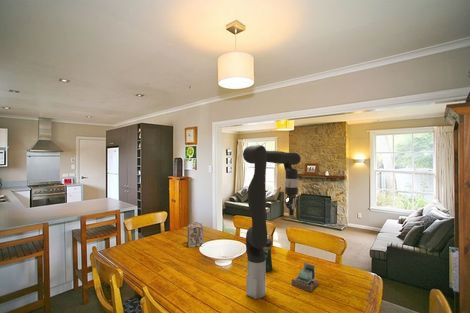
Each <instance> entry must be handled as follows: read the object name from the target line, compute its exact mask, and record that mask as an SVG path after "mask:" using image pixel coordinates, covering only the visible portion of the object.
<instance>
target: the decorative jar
mask: <svg viewBox="0 0 470 313" xmlns="http://www.w3.org/2000/svg"><path fill="white" fill-rule="evenodd" d="M204 230H205V229H204V224H202V223H200V222H199V221H192V222H191V223H189V224H188V225H187V236H186V237H187V246H188V248H189V247H192V248H196V247H195V246H200V245H202V244H203V243H204V242H205V238H204V237H205V233H204V232H205V231H204Z"/></svg>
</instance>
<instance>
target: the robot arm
mask: <svg viewBox="0 0 470 313" xmlns="http://www.w3.org/2000/svg"><path fill="white" fill-rule="evenodd" d="M242 157H243V159H244V161H245V163H248V164H253V165H254V171H253V176H252V178H251V180H250V183H249V185H248V188H247V205H248V211H249V213H250V217H251V226H250V227H249V228H248V229H247V231H246V234H245V252H246V256H247V270H246V271H247V275H246V278H245V280H246V281H245V282H246V291H245V292H246V293H245V294H246V296H249V297H251V298H252V299H253V300H254V299H255V300H258V299H262V298H264V297H265V296H266V294H267V292H266V289H267V288H266V287H267V286H266V280H267V279H266V275H267V274H266V273H267V271H266V255H265V252H264V249H263V248H264V247H265V246H266V244H267V241H268V239H269V238H268V237H269V236H268V235H269V234H268V228H267V190H266V187H267V185H266V175H267V173H266V171H267V163H271V164H279V165H280V164H281V165H283V167H284V171H285V182H284V194H285V195H286V200H284V204H285V206H286V209H288V213H289V214H288V215H289V216H291V217H292V216H294V215H295V213H294V212H295V208H297V205H298V202H299V198H297V195H299V180H298V169H296V168H294V167H293V166H296V165H299V163H300V162H301V160H302V158H301V155H300V154H299V153H298V152H286V151H282V150H281V151H280V150H266V147H265V146H264V145H262V144H261V145H250V146H246V147H245V148H244V149H243V152H242ZM292 165H293V166H292Z"/></svg>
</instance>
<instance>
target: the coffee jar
mask: <svg viewBox="0 0 470 313" xmlns="http://www.w3.org/2000/svg"><path fill="white" fill-rule="evenodd" d="M272 242H273V241H272V239H271V238H270V239H269V238H268V241H267V244H266V246H265V247H264V248H263V249H264V252H265V255H266V272H271V271H272V270H273V261H272V260H273V259H272V248H273V243H272Z"/></svg>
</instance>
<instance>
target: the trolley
mask: <svg viewBox="0 0 470 313" xmlns="http://www.w3.org/2000/svg"><path fill="white" fill-rule="evenodd" d="M315 267H316V266H315V264H314V265H313V264H310V263H307V262H303V268H302V269H301V270H300V271H299V272H298V276H299V279H298V280H297V281H300V282H302V283H305V284H308V285H310V284H311V283H313V282H314V281H315V280H316V279H315V278H316V268H315Z"/></svg>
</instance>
